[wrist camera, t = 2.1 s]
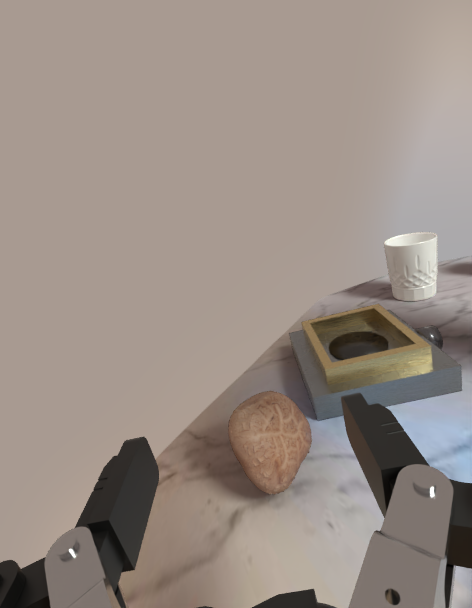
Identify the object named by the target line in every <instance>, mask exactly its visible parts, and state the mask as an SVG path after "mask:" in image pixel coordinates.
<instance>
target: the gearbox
mask: <svg viewBox="0 0 472 608" xmlns="http://www.w3.org/2000/svg"><path fill="white" fill-rule="evenodd" d="M302 327H303V330H300V331H296V332H292V333H289V336H290V340H291V345H292V349H293V352H294V355H295V358H296V361H297V364H298V366H299V369H300V372H301V375H302V378H303V381H304V383H305V386H306V389H307V392H308V395H309V397H310V400H311V403H312V406H313V409H314V411H315V414H316V417H317V420H318V421H319V420H324V419H328V418H333V417H338V416H343V415H344V414H343V409H342V403H341V396H346V395H351V394H355V393H361V394H362V395H363V397H364V399H365V400H366V402H367V403H368V405H372V404H376V403H379V404H381V405H382V406H384V407H386V406H390V405H395V404H400V403H405V402H409V401H414V400H419V399H424V398H429V397H433V396H438V395H443V394H448V393H452V392H457V391H462V377H461V365H460V364H458V363H457V362H456V361H454V360H453V359H452V358H451V357H449V356H448V355H447V354H446V353H444V352H443V351H442V350H440V349H441V348H442V346H443V340H442V336H441V334H440V332H439V330H438V329H437V328H436V327H435V326H427V327H423V328H418V329H413V328H412V327H411V326H410V325H408V324H407V323H406V322H404V321H403V320H402V319H401V318H399V317H398V316H397V315H395V314H394V313H393V312H392V311H390V310H385V309H384V308H383V307H382V306H380V305H379V304H376V305H372V306H367V307H363V308H359V309H355V310H350V311H346V312H342V313H338V314H332V315H329V316H325V317H321V318H317V319H312V320H308V321H304V322H302Z"/></svg>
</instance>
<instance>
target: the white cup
mask: <svg viewBox="0 0 472 608" xmlns="http://www.w3.org/2000/svg"><path fill="white" fill-rule="evenodd" d="M384 248H385V254H386V260H387V267H388V272H389V278H390V282H391V286H392V292H393V297H395V298H396V299H398V300H402V301H421V300H425V299H428V298H431V297H433V296H434V295H435V294H436V278H437V234H435V233H430V232H422V233H421V232H420V233H410V234H405V235H400V236H396V237H393V238H391V239H388V240H386V241H385V242H384Z"/></svg>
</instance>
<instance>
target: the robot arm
mask: <svg viewBox="0 0 472 608" xmlns="http://www.w3.org/2000/svg"><path fill="white" fill-rule="evenodd" d="M341 403H342V409H343V414H344V420H345V426H346V431H347V435H348V438H349V441H350V444H351V446H352V448H353V450H354V453H355V455H356V457H357V459H358V461H359V464H360V466H361V468H362V470H363V472H364V475H365V477H366V479H367V481H368V483H369V486H370V488H371V490H372V492H373V494H374V496H375V499H376V501H377V503H378V505H379V507H380V510H381V512H382V514H383V516H384V518H385V519H384V522H383V526H382V528H381V530H380V532H379V531H377V530H376V531H375V532H374V533H373V535H372V537H371V540H370V543H369V546H368V549H367V552H366V555H365V558H364V561H363V565H362V568H361V571H360V574H359V577H358V580H357V583H356V586H355V589H354V592H353V595H352V599H351V602H350V605H349V608H451V604H452V595H453V586H454V577H455V568H456V566H461V567H466V568H472V483H463V482H458V481H454V480H451V479H448V478H447V477H446V476H445V475H444V474H443V473H442V472H440V471H439V470H437V469H435V468H433V467H430V466H429V464H428V463H427V462H426V460H425V459H424V457H423V456H422V455H421V453H420V452H419V450H418V449H417V448H416V446H415V445H414V443H413V442H412V441H411V439H410V438H409V436H408V435H407V433H406V432H404V429H403V428H402V426H401V425H400V424H399V423H398V421H397V419H396V418H395V417H394V415H393V414H392V412H391V411H390V410H388V409H387V408H385V407H384V406H382V405H381V404H379V403H376V404H372V405H368V403H367V402H366V400H365V399H364V397H363V395H362V394H361V393H355V394H351V395H346V396H341ZM98 480H99V481H98V482H97V483H96V485H95V487H94V491H93V492H92V494H91V496H90V498H89V500H88V502H87V504H86V506H85V508H84V510H83V512H82V514H81V516H80V518H79V520H78V522H77V524H76V527H75V528H74V529H71V530H70V531H68V532H66V533H65V534H63V535H62V536H61V537H60V538H59V539H58V540H57V541H56V542H55V543H54V544H53V545H52V547H51V548H50V550H49V551H48V554H47V555H46V557H45V558H43V559H41V560H39V561H36V562H34V563H32V564H30V565H28V566H26V567H24V568H22V569H20V567H19V566H18V564H17V563H16V562H15V561H13V560H7V561H3V562H1V563H0V608H128V605H127V602H126V600H125V597H124V594H123V592H122V589H121V587H120V585H119V583H118V582H119V579H120V576H121V572H125V571H131V570H135V566H136V563H137V559H138V555H139V551H140V548H141V544H142V540H143V537H144V533H145V529H146V526H147V522H148V518H149V514H150V511H151V507H152V503H153V500H154V496H155V492H156V489H157V485H158V481H159V470H158V465H157V463H156V460H155V458H154V456H153V453H152V451H151V448H150V446H149V444H148V441H147V439H146V438H145V437H140V438H135V439H130V440H126V441H125V442H124V443H123V446H122V447H121V450H120V452H119V454H118V456H114V457H113V458H112V459H111V460H110V461H109V462H108V463H107V465H106V466H105V467H104V469H103V471H102V473H101V475H100V477H99V479H98ZM198 608H212V607H206V606H204V607H198ZM252 608H336V607H334V606H330V605H327V604H323V603H318V602H317V599H316V595H315V591H314V589H310V590H303V591H297V592H291V593H285V594H279V595H276V596H274V597H272V598H270V599H268V600H266V601H264V602H262V603H260V604H258V605H256V606H254V607H252Z"/></svg>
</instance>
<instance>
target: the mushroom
mask: <svg viewBox="0 0 472 608" xmlns="http://www.w3.org/2000/svg"><path fill="white" fill-rule="evenodd" d="M228 427H229V429H228V432H229V438H230V443H231V446H232V449H233V451H234V454H235V456H236V458H237V459H238V461H239V463H240V464H241V465H242V467H243V469H244V472H245V474H246V475H247V477H248V478H249V479H250V480H251V481H252V482H253V484H254V485H255V486H256V487H257V488H259V489H260V490H261V491H263V492H265V493H270V495H271V494H274V495H275V494H276V493H280V492H284V490H285V489H287V488H288V487H289V485H290V484H291V483H292V481H293V479H295V475H296V474H297V472H298V469H299V467H300V465H301V463H302V461H303V460H304V459H305V457H306V456H307V453H309V449H310V447H311V442H312V438H311V429H310V425H309V423H308V421H307V419H306V417H305V416H304V415H303V413H302V412H301V411H300V410H299V408H298V407H297V405H296V404H295V403H294V402H293V401H292V400H291V399H290V398H288V397H287V396H285V395H283V394H281V393H277V392H273V391H267V392H262V393H259V394H256V395H254V396H253V397H251V398H249V399H248V400H246V401H244V402H243V403H242V404H240V405H239V406H238V407H237V408H236V409H235V410H234V411H233V414H232V415H231V417H230V420H229V426H228Z"/></svg>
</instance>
